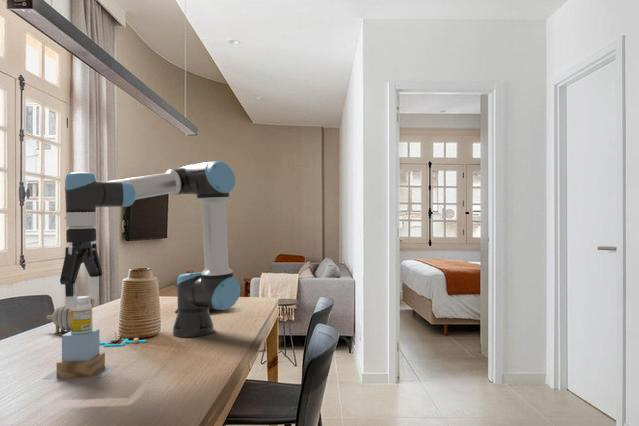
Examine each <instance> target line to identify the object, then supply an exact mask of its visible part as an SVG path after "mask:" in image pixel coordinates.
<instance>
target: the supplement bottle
mask: <svg viewBox="0 0 639 426" xmlns="http://www.w3.org/2000/svg"><path fill="white" fill-rule="evenodd" d="M90 300H91V299H90V297H89V296H88V295H79V296H78V295H77V308H76V309H71V333H72V334H84V333H89V332H91V331H92V329H93V305H92V304H91V303H90Z"/></svg>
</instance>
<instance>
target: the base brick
mask: <svg viewBox="0 0 639 426" xmlns="http://www.w3.org/2000/svg"><path fill="white" fill-rule="evenodd" d="M105 354H106V352H105V351H103V352H102V351H101V352H100V351H99V354H98V355H96V356H95V357H94V358H92V359H91V360H89V361H68V362H62V359H60V360H58V361H57V362H56V370H57V378H62V379H69V378H68V377H91V376H93V375H94V374H95V373H97V372H98V371H99V370H101V369H102V368H103V367H105V366H106V356H105Z"/></svg>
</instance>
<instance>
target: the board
mask: <svg viewBox="0 0 639 426" xmlns="http://www.w3.org/2000/svg"><path fill="white" fill-rule="evenodd" d="M118 366H119V365H105V367H103V368H102V369H101V370H99V371H98V372H97V373H95V374H94V375H93V376H91V377H68V378H67V379H86V378H88V379H89V378H93V379H94V378H104V377H106V375H108V374H109V373H110V372H112V371H113V370H114V369H116V368H117V367H118ZM52 379H53V380H54V379H58V380H59V379H63V378H57V369H55V370H54V371H52V372H51V373H49V374H47V375H46V376H44V377H43V378H42V380H52Z"/></svg>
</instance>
